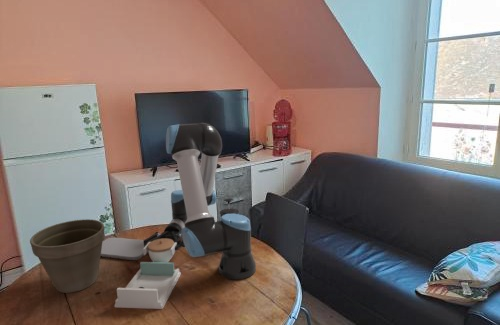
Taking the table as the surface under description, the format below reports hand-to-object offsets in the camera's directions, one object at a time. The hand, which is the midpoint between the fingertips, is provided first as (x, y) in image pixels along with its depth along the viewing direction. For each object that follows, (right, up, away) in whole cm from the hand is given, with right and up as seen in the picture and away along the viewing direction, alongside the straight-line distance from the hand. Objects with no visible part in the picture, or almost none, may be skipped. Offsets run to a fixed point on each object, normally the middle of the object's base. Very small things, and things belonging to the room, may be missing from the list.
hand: (157, 252), depth 137 cm
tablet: (-22, -5, +22) cm, 32 cm away
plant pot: (-31, -11, -4) cm, 33 cm away
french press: (+28, -3, +24) cm, 37 cm away
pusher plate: (+1, -8, -2) cm, 8 cm away
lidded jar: (0, -5, +5) cm, 8 cm away
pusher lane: (0, -11, -10) cm, 15 cm away
